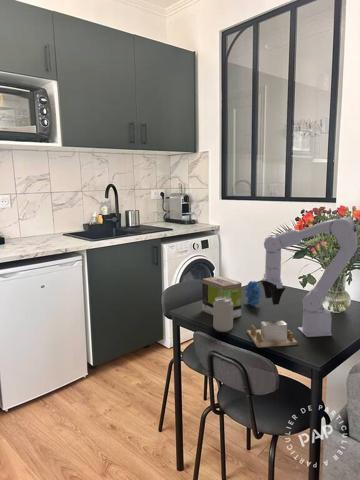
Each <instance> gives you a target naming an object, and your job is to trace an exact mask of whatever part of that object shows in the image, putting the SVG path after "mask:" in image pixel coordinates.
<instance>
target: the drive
mask: <svg viewBox="0 0 360 480" xmlns="http://www.w3.org/2000/svg"><path fill="white" fill-rule="evenodd" d="M260 330H261V335H262V340H263V342H280V341H287V330H288V323H286V322H285V320H272V321H261V322H260Z"/></svg>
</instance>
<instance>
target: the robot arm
mask: <svg viewBox="0 0 360 480" xmlns="http://www.w3.org/2000/svg"><path fill="white" fill-rule="evenodd" d="M319 234H326V235H329V236H330V235H331V234H332V235H333V236H334V239H336V240H337V242H338V245H339V250H338V251H337V253H336V255H334V257H333V259H332V261H331V262H330V264H329V265H328V267H327V268H326V270H325V271H324V272H323V274H322V276H321V277H320V278H319V280H318V281H317V283H316V285H315V286H314V287H313V288H312V289H311V290H309V292H308V293H307V294H306V295H305V296H303V298H302V300H301V303H302V306H303V310H302V326H298V327H297V329H298V330H299V331H300V332H301V333H302V334H303V335H304V336H305V337H307V338H311V337H312V338H314V337H329V336H332V335H333V334H332V313H331V311H330V310H329V309H328V308H324V306H323V304H324V303H325V301H326V299H327V298H326V297H327V294H328V292H329V291H330V289H331V287H332V286H333V285H334V283H335V282H336V281H337V279H338V278H339V276H340V274H341V273H342V272H343V270H344V269H345V268H346V267H347V264H348V263H349V261H351V259H352V258H353V256H354V254H355V253H356V252H357V250H358V227H357V225H356V223H355V221H354V219H352V218H351V217H348V216H344V217H340V218H339V219H338V218H334V219H329V220H324V221H322V222H320V223H317V224H314V225H312V226H309V227H305V228H303V229H301V230H299V229H296V228H288V229H286V231H284V232H281V233H279V232H277V233H275V235H272V236H269V237H267V238H266V239H265V240H264V242H263V247H264V249H265V268H264V269H265V270H264V271H265V272H264V273H263V277H262V278H261V279H262V280H260V282H261V284H262V288H263V290H264V291H263V292H264V296H265V298H266V299H271V302H272V305H274V306H275V305H279V304H280V303H281V302H280V301H281V298H282V295H283V293H284V291H285V290H286V287H285V286H283V282H282V279H281V269H282V262H281V261H282V249H286V248H289V247H292V246H295V245H300V243H301V242H302V240H303V239H306V238H310V237H312V236H316V235H319Z"/></svg>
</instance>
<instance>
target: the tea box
mask: <svg viewBox="0 0 360 480" xmlns="http://www.w3.org/2000/svg"><path fill="white" fill-rule="evenodd" d="M217 297H228V298H231V301H232V302H233V319H236V318H240V317H241V316H242V282H240V281H237V280H233V279H231V278H228V277H224V276H222V275H218V276H211V277H206V278H202V311H203V312H205V313H207V314H209V315H211V316H213V302H214V301H215V298H217Z"/></svg>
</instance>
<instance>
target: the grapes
mask: <svg viewBox="0 0 360 480" xmlns="http://www.w3.org/2000/svg"><path fill="white" fill-rule="evenodd" d="M245 290H246V293H245V295H244V296H245V298H247V300H246V302H247V303H248V305H250V306H251V307H255V306H256V305H259V303H260V298H261V297H262V291H261V287H260V286H259V285H258V282H257V281H255V280H253V281H252V280H251V281H249V282H248V283H247V285H246V287H245Z"/></svg>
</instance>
